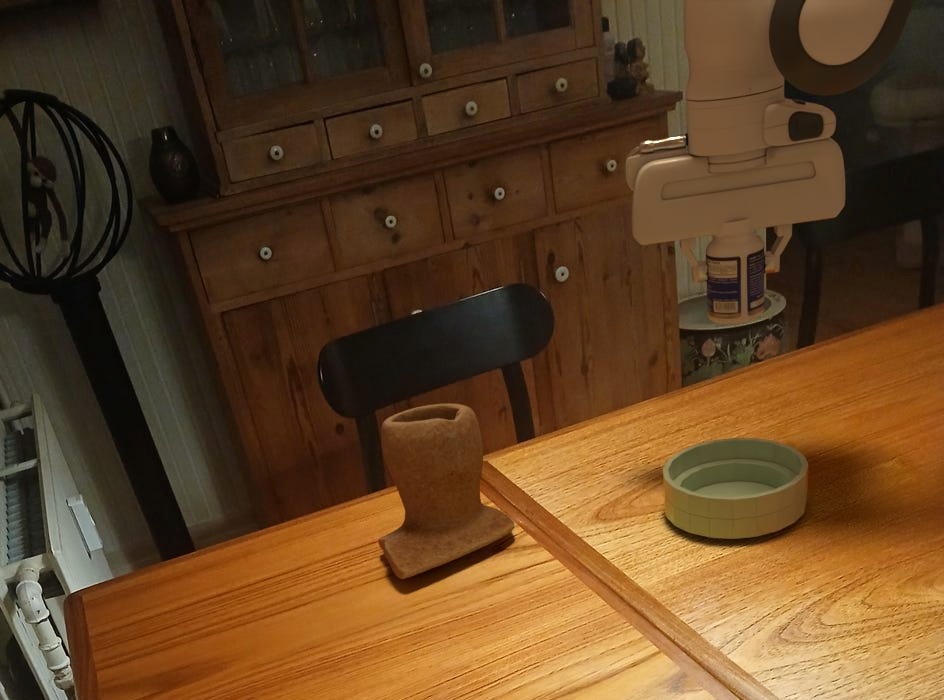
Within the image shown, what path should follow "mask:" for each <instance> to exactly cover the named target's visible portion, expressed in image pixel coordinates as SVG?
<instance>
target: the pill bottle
mask: <svg viewBox="0 0 944 700" xmlns="http://www.w3.org/2000/svg"><path fill="white" fill-rule="evenodd" d="M764 252H765V241H764V239H763V238H762V237H761V235H759V234H757V229H754V228H753V227H752V223H751V219H744V220H738V221H733V222H727V223H723V228H722V232H721V233H720V234H717V235H712V240H711V241H709V242H708V244H707V246H706V248H705V260H706V263H707V265H708V272H707V275H708V281H706V304H707V305H706V307H707V308H706V309H707V317H708V319H709V321H711V322H713V323H715V324H719V325H738V324H744V323H748V322H752V321H754V320H755V321H756V320H757V319H759V318H760V317H762V315H763V313H764V312H765V274H764Z"/></svg>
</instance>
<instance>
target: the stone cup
mask: <svg viewBox="0 0 944 700" xmlns="http://www.w3.org/2000/svg"><path fill="white" fill-rule="evenodd" d="M380 439H381V442H380V443H381V450H382V451H381V452H382V457H383V459H384V463H385V465H386V468H387V469H388V472H389V474H390V476H391V479H392V481H393V484H394V485H395V488H396V490H397V492H398V494H399V499H400V500H401V502H402V506H403V509H404V520H403V522H402V524H401V526H399V527H398V528H396V529H395V530H393V531H391V532H390V533H387V534H385V535H383V536H381V537H379V539H378V541H377V543H378V545H379V547H380V549H381V550H382V551H383V555H384V558H385V559H386V560H387V563H388V564H389V565H390V568H391V570H392V572H393V573H394V575H395V576H396V577H397V579H401V580H405V579H409V578H411V577H414V576H417V575H419V574H422V573H424V572H427V571H430V570H431V569H434V568H437V567H441V566H442V565H445V564H447V563H449V562H451V561H454V560H457V559H459V558H461V557H463V556H466V555H468V554H471V553H472V552H475V551H477V550H479V549H482V548H484V547H486V546H488V545H490V544H492V543H494V542H497V541H498V540H500V539H502V538H504V537H506V536H508V535H509V534H510V533H512V532H513V530H514V529H515V522H514V520H513V519H512V518H511V517H510V516H509V515H508V514H507V513H505V512H503V511H502V510H500V509H499V508H496V507H493V506H490V505H485V504H483V503H482V499H481V480H482V474H483V467H484V443H483V437H482V432H481V427H480V424H479V421H478V417H477V415H476V413H475V411H474V410H473V409H472V408H471V407H470V406H467V405H464V404H459V403H435V404H427V405H422V406H421V405H420V406H417V407H413V408H409V409H406V410H404V411H401V412H398V413H396V414H393V415H391V416H389V417H387V418H386V419H384V421H383V423H382V426H381V438H380Z"/></svg>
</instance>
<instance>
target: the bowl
mask: <svg viewBox="0 0 944 700" xmlns="http://www.w3.org/2000/svg"><path fill="white" fill-rule="evenodd" d="M808 483H809V461H808V460H807V458H806V457H805V455H804V454H803V453H802V452H800V451H799V450H798V449H797V448H795V447H793V446H791V445H788V444H785V443H783V442H779V441H777V440H771V439H764V438H757V437H730V438H721V439H714V440H709V441H705V442H701V443H697V444H693V445H691V446H688V447H685V448H684V449H682V450H679V451H678V452H676V453H675V454H673V455H672V456H671V457H670V458H668V459H667V461H666V462H665V464H664V466H663V468H662V489H663V508H664V514H665V518H666V519H668V520H669V522H671V523H672V525H673V526H674V527H676V528H677V529H681V530H683V531H685V532H687V533H688V534H692V535H698V536H702V537H705V538H711V539H723V540H738V539H750V538H756V537H757V538H758V537H760V536H764V535H768V534H772V533H776V532H779V531H780V530H783V529H785V528H787V527H789V526H791V525H793V524H795V523H796V522H797V521H798V520H799V519H800V518H801V517H803V515H804V514H805V510H806V507H807V504H808Z"/></svg>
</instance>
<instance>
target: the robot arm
mask: <svg viewBox="0 0 944 700" xmlns="http://www.w3.org/2000/svg"><path fill="white" fill-rule="evenodd" d="M914 2H915V0H683V44H684V50H685V53H686V57H687V62H688V70H689V71H688V80H687V86H686V89H685V90H686V91H685V110H686V111H685V116H686V121H685V122H686V133H683V134H677V135H673V136H667V137H664V138H661V139H655V140H654V139H648V140H644V141H641V142H639V143H638V144H639V145H638V146H636V147H634V148H632V149H631V150H630V151H629V153H628V154H627V156H626V158H625V161H624V178H625V183H626V184H625V185H626V186H627V188H628V190H629V191H631V192H632V197H631V198H632V199H631V233H632V237H633V239H634V240H635V241H636V242H637V243H638V244H639V245H642V246H645V245H646V246H647V245H648V246H649V245H654V244H662V243H668V242H674V241H679V248H680V251H681V252H682V254H683V256H684V257H685V259H686V260H687V262H688V263H689V265H690V266H691V269H690V270H691V281H692V284H698V283H707V281H708V275H707V272H708V265H707V263H706V259H704V260H698V259H697V257H696V256H695V254H694V253H693V251H692V250H695V249H696V238H704V237H710V236H713V235H717V234H720V233H721V232H722V228H723V223H727V222H733V221H738V220H744V219H751V223H752V227H753V228H754V229H756V230H758V229H765V228H766V229H767V228H773V232H774V233H775V234H776V236H777V237H776V239H775V241H774V243H773V245H772V246H771V248H770V250H768V251H764V275H766V274H773V273H779V272H780V268H781V267H780V266H781V263H780V262H781V255H782V254H783V252H784V251H785V248H786V246H787V245H788V243H789V242H790V240H791V238H792V236H793V224H799V223H801V224H802V223H807V222H814V221H815V222H816V221H821V220H829V219H834V218H836V217H838V215H839V214H840V213H841V211H842V210H843V208H844V207H845V205H846V174H845V173H846V171H845V162H844V155H843V152H842V149H841V147H840V145H839V144H838V142H836V141H835V140H834V139H833V138H831V137H832V136H833V135H834V134H835V131H836V125H837V118H836V115H835V113H834V112H833V111H832V110H831V109H830V108H828V107H826V106H824V105H822V104H819V103H815V102H808V101H804V100H802V99H796V98H793V99H791V98H786V96H785V80H786V81H787V82H788V83H789V84H790V85H791V86H793V87H795V89H797V90H799V91H802V92H803V93H804V92H805V93H806V94H810V95H816V96H836V95H839V94H844V93H847V92H850V91H851V90H854V89H856V88H858V87H860V86H861V85H863V84H864V83H866V82H867V81H869V80H871V78H873V77H874V76H875V75H876V74H877V73H878V72H879V71H880V70H881V69H882V68H883V66H885V64H886V63H887V62H888V60H889V59H890V57H891V56H892V55H893V53H894V51H895V49H896V47H897V46H898V43H899V41H900V39H901V36H902V34H903V32H904V29H905V26H906V24H907V21H908V18H909V16H910V12H911V9H912V7H913V5H914ZM638 152H639V153H638ZM636 153H638V154H636Z"/></svg>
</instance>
